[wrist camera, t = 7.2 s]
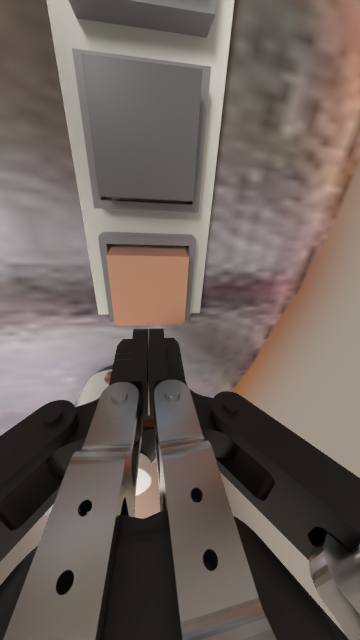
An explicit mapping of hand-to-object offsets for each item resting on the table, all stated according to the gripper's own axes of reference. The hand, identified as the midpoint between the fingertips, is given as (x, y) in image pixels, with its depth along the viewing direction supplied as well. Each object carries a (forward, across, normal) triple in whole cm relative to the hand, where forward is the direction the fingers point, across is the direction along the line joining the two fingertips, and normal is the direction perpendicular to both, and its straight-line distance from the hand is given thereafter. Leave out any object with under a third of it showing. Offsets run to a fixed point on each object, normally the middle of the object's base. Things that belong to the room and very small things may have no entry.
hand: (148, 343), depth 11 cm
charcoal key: (+8, 0, -9) cm, 12 cm away
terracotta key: (+8, 0, 0) cm, 8 cm away
